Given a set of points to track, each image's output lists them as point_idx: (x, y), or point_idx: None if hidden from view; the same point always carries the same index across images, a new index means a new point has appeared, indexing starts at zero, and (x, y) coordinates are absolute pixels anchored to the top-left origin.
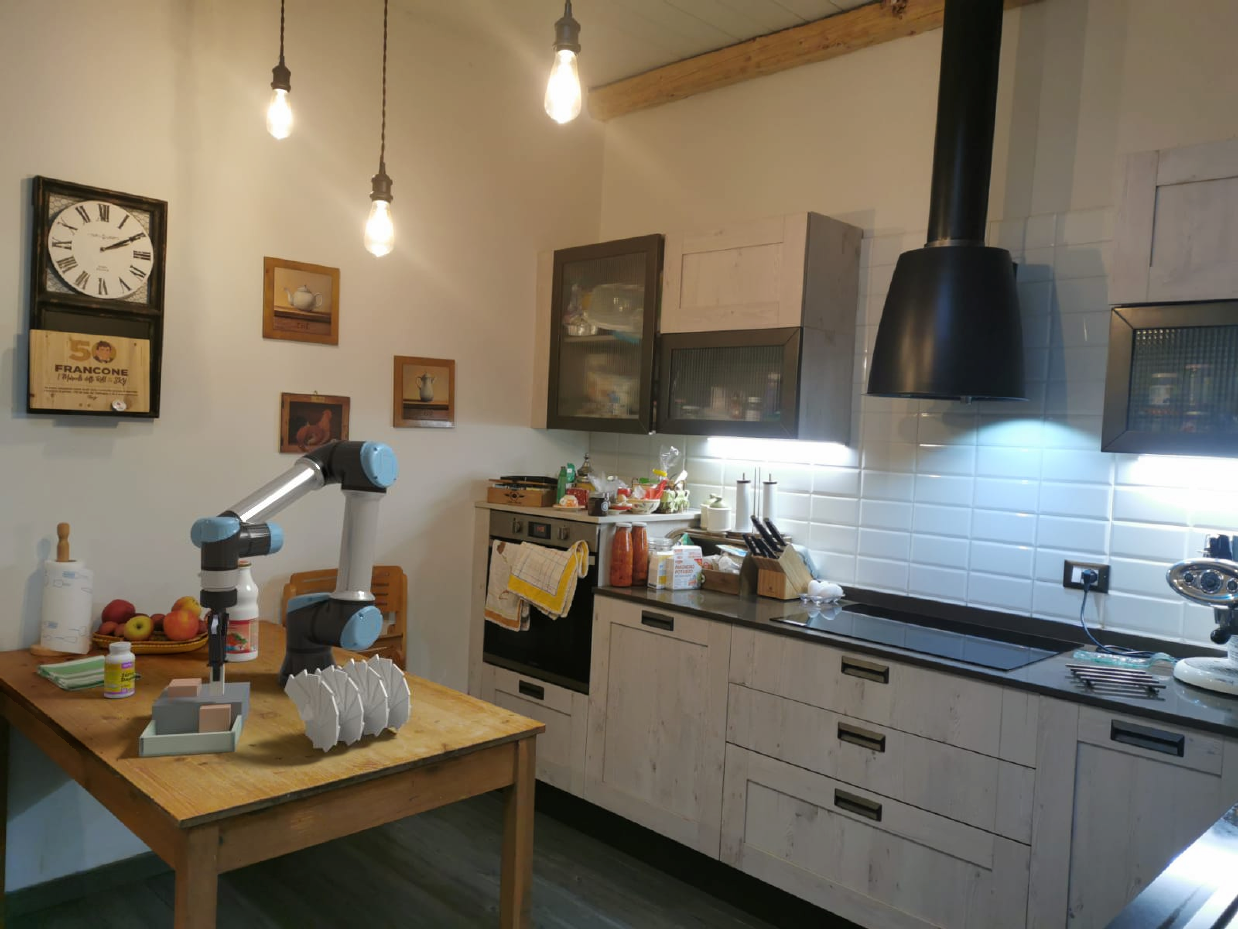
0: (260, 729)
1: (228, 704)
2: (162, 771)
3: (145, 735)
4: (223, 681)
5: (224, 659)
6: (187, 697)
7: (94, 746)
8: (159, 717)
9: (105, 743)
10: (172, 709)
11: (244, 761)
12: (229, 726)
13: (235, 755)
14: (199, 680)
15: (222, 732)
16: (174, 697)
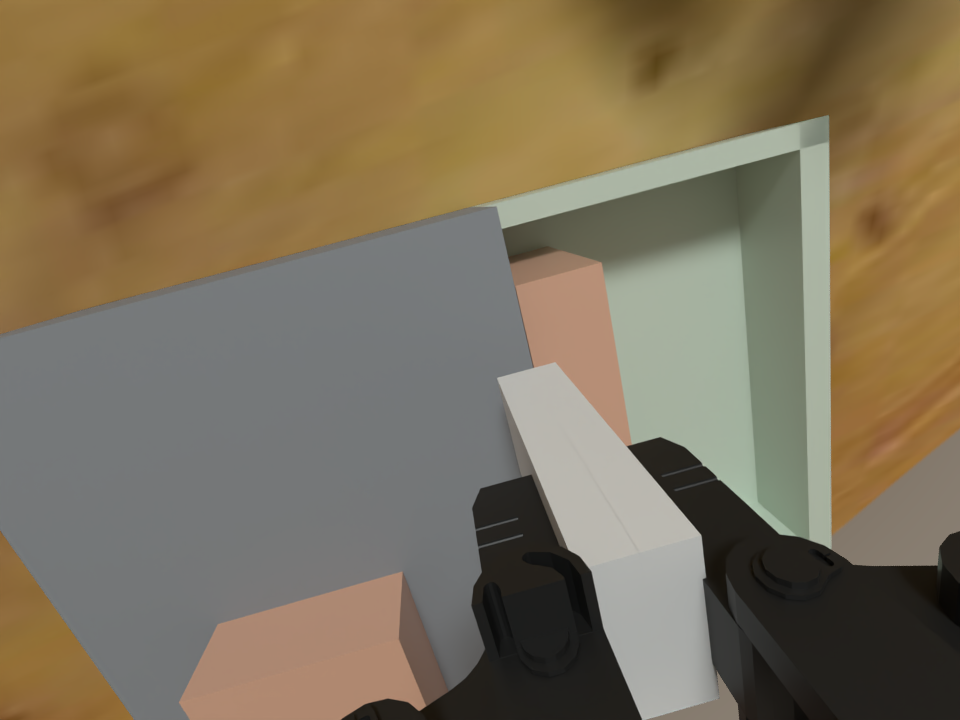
0: (395, 114)
1: (524, 302)
2: (928, 353)
3: None
4: (579, 416)
5: (568, 663)
6: (429, 612)
7: None
8: None
9: None
10: None
11: (889, 20)
12: (548, 252)
13: (798, 106)
14: (249, 687)
15: (814, 196)
16: (441, 674)
